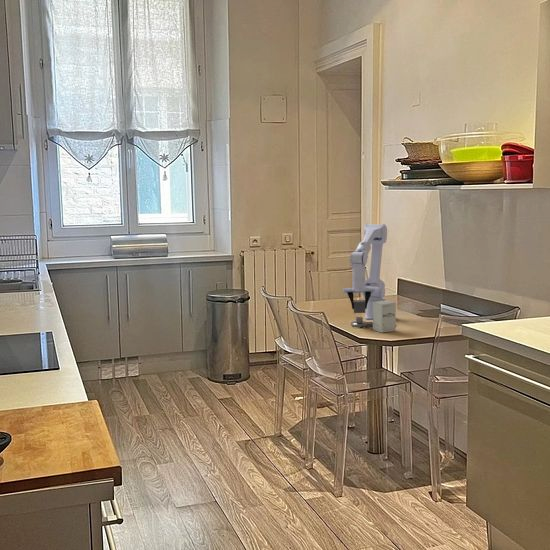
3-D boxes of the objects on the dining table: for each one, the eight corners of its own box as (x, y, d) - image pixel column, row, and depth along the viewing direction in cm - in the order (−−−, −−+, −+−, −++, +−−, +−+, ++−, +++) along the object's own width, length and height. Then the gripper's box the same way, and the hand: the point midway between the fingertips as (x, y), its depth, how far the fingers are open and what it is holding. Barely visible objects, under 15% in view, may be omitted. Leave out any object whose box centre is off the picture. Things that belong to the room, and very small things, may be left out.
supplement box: (381, 333, 300) (381, 304, 299) (372, 329, 307) (372, 301, 305) (396, 331, 303) (396, 302, 301) (386, 328, 310) (386, 299, 308)
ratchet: (393, 323, 319) (393, 315, 318) (395, 327, 311) (395, 318, 310) (350, 324, 320) (350, 315, 319) (351, 328, 312) (351, 319, 311)
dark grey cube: (364, 310, 317) (364, 299, 316) (365, 312, 312) (365, 301, 312) (353, 311, 317) (353, 300, 317) (354, 313, 312) (354, 302, 312)
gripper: (343, 280, 309) (343, 310, 311) (376, 279, 308) (376, 310, 310) (342, 277, 316) (342, 307, 318) (374, 277, 315) (374, 307, 317)
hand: (359, 308), depth 314 cm, fingers closed on dark grey cube, 5 cm apart
